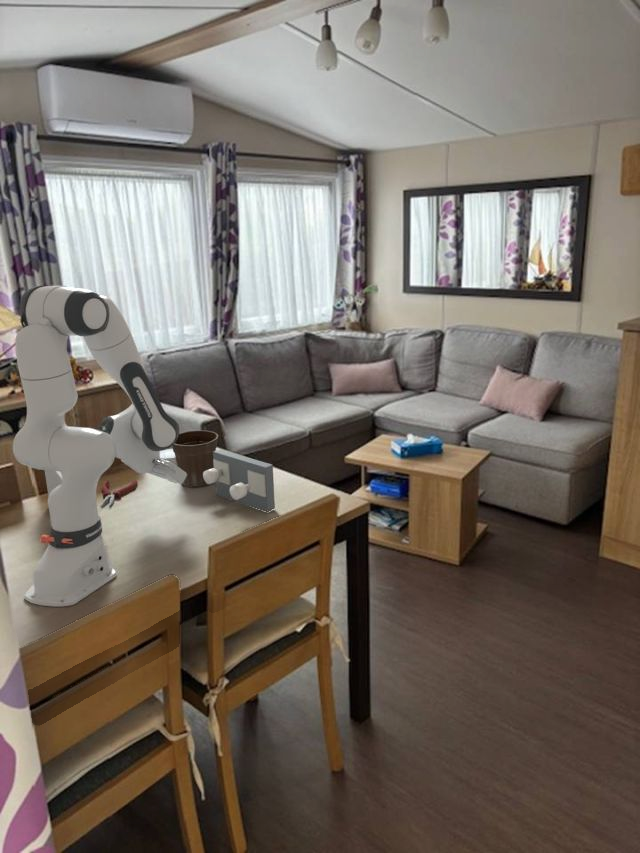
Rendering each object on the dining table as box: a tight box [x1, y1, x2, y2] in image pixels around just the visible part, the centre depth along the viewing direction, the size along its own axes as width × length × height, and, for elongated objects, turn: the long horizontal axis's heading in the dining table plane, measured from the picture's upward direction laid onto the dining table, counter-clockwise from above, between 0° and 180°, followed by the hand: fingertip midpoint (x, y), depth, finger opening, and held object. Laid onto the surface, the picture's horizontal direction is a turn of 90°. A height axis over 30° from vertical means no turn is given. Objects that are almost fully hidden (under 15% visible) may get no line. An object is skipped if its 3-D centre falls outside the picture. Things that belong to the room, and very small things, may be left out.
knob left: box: [203, 468, 223, 485], centre depth 201 cm, size 5×4×4 cm
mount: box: [213, 448, 276, 512], centre depth 200 cm, size 4×24×15 cm, turn 49°
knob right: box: [230, 482, 250, 500], centre depth 189 cm, size 5×4×4 cm
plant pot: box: [171, 429, 219, 488], centre depth 218 cm, size 16×16×16 cm
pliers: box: [99, 479, 139, 508], centre depth 209 cm, size 12×20×3 cm, turn 2°
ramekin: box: [160, 448, 177, 466], centre depth 235 cm, size 11×11×5 cm
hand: (174, 480), depth 189 cm, fingers closed
